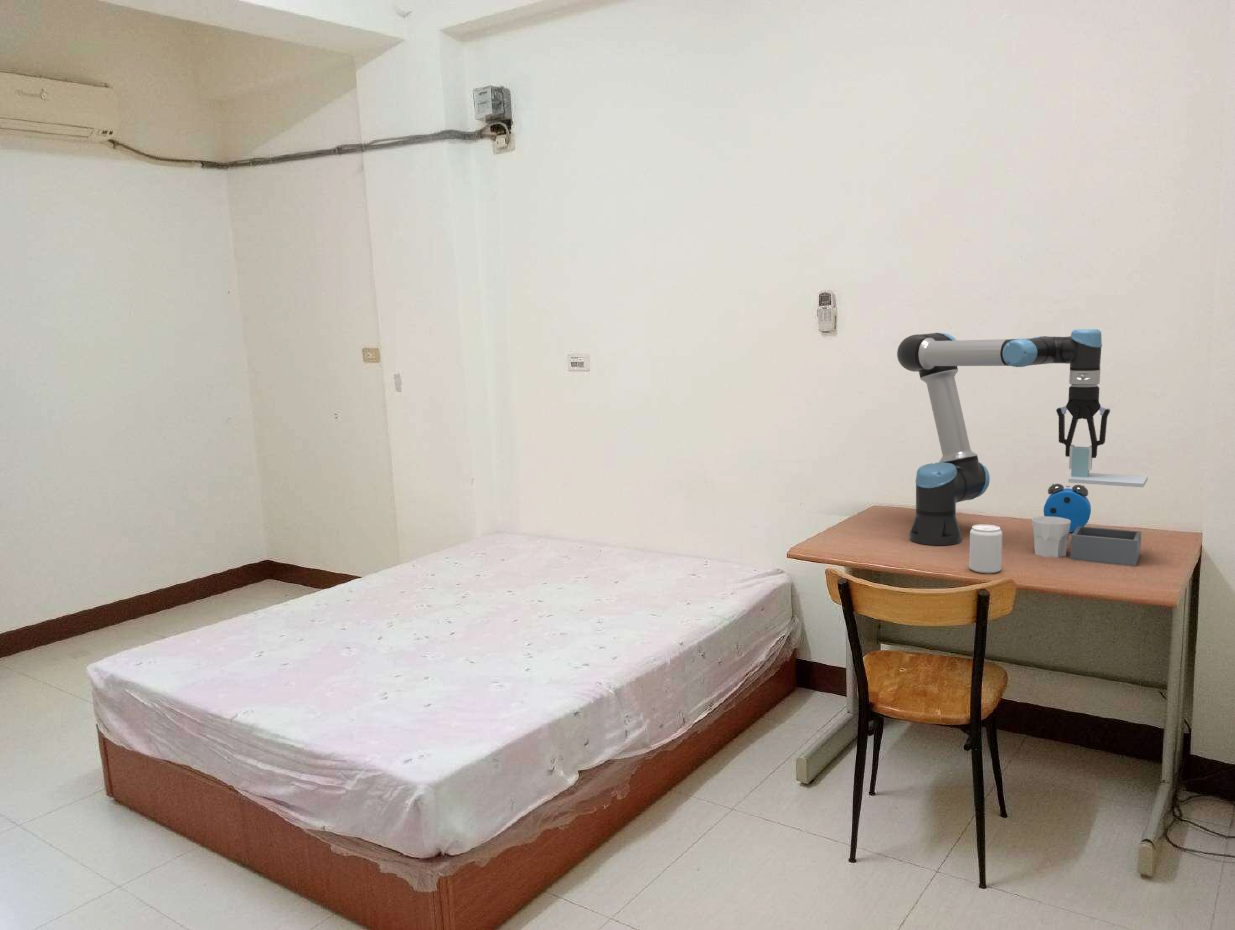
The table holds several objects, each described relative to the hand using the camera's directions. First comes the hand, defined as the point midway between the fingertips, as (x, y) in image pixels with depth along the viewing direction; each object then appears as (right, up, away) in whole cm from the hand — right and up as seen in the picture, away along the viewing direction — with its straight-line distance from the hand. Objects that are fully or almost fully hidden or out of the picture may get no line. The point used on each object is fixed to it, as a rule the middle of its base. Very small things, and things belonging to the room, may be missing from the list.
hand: (1080, 468), depth 254 cm
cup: (-6, -25, +6) cm, 26 cm away
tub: (+7, -25, 0) cm, 26 cm away
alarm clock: (+12, -20, +31) cm, 39 cm away
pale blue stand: (+6, -4, -3) cm, 8 cm away
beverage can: (-30, -28, -7) cm, 41 cm away
